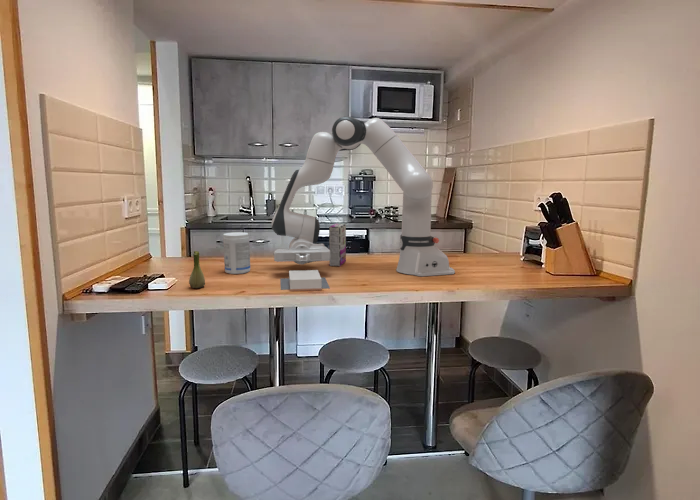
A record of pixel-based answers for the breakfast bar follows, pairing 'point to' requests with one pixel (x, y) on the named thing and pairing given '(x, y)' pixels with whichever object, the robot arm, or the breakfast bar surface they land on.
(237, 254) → the supplement tub
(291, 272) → the white boxy piece
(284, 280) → the felt mat
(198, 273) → the fennel bulb
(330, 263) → the candy bar box
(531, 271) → the breakfast bar surface
